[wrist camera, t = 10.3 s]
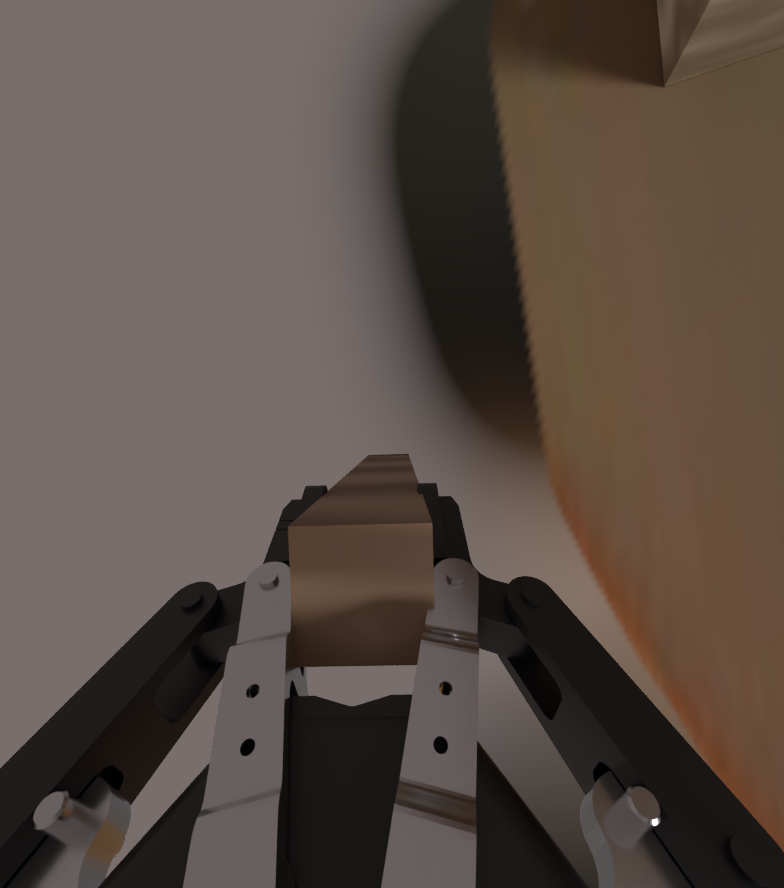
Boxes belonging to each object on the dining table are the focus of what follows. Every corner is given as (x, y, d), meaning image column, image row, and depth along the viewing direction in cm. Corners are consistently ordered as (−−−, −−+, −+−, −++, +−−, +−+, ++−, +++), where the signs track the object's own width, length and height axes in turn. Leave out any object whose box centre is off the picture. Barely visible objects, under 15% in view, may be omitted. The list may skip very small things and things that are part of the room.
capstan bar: (436, 664, 9) (432, 522, 9) (293, 667, 9) (287, 526, 9) (409, 492, 33) (408, 453, 33) (370, 493, 33) (368, 454, 33)
